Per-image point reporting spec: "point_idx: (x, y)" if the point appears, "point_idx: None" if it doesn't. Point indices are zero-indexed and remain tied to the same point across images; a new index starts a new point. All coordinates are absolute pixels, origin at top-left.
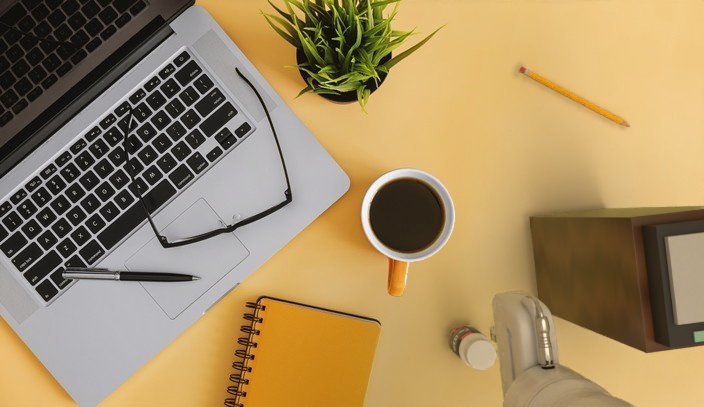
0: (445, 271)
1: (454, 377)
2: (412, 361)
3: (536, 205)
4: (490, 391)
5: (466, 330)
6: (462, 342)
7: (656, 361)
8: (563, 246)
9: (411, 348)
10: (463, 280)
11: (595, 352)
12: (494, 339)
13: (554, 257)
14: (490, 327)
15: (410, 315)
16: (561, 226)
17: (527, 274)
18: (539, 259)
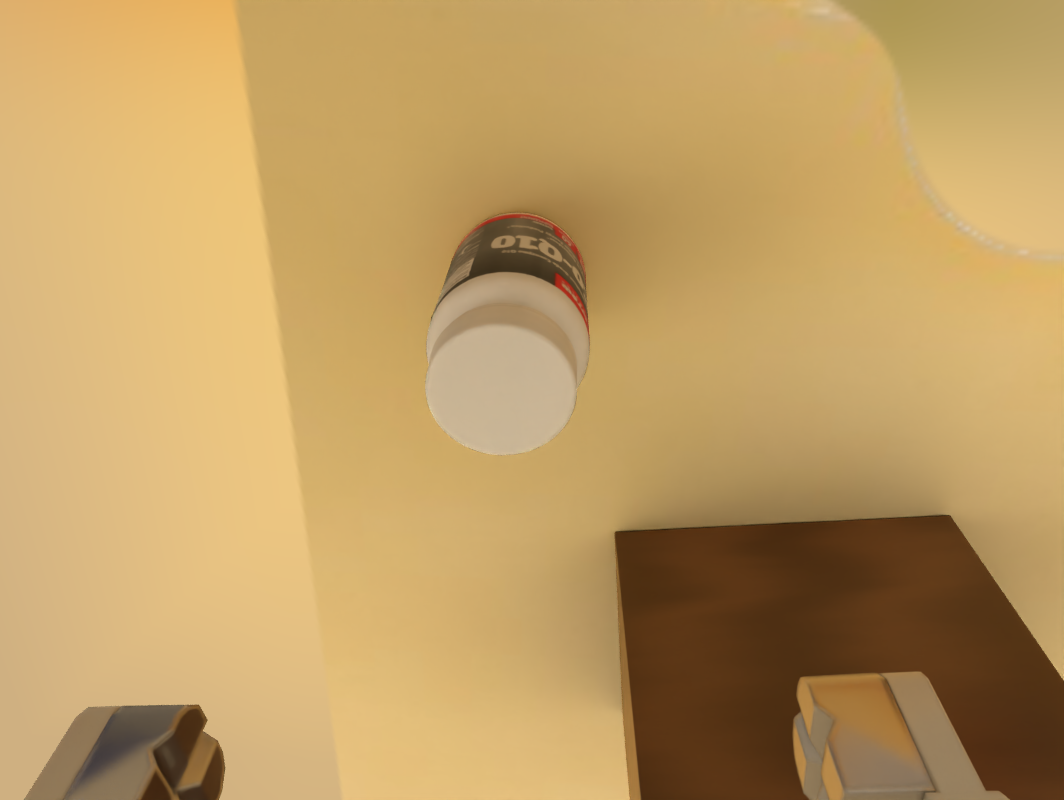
0: (821, 206)
1: (361, 230)
2: (423, 33)
3: (982, 536)
4: (318, 366)
5: (585, 300)
6: (550, 292)
7: (444, 779)
8: (963, 730)
9: (485, 29)
10: (767, 281)
11: (468, 661)
12: (873, 778)
13: (872, 653)
14: (929, 688)
15: (645, 28)
16: (1055, 730)
17: (745, 501)
18: (810, 553)
